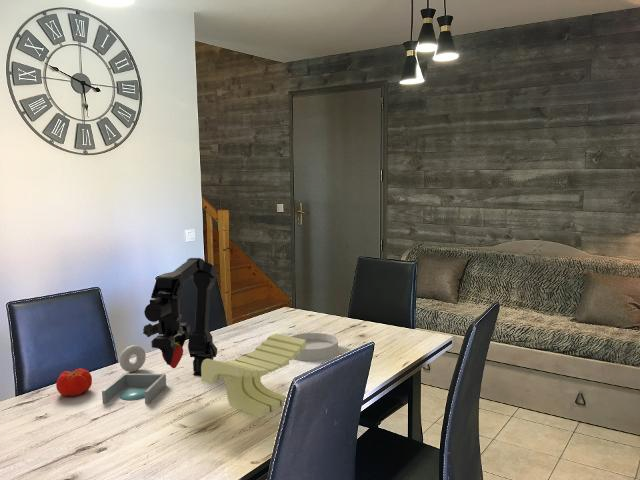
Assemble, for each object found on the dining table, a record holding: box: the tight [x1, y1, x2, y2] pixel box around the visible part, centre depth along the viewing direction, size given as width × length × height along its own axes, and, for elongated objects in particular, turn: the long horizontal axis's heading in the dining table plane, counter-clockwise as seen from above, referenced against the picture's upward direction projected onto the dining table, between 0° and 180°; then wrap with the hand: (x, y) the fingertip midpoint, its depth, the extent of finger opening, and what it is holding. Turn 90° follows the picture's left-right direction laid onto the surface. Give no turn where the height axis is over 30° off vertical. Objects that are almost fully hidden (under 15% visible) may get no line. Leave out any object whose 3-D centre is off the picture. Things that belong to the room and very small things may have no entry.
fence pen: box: [101, 373, 167, 405], centre depth 171 cm, size 15×15×4 cm
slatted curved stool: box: [200, 333, 306, 418], centre depth 161 cm, size 30×16×18 cm, turn 143°
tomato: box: [55, 368, 93, 397], centre depth 172 cm, size 11×11×8 cm
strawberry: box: [161, 342, 184, 369], centre depth 167 cm, size 6×8×10 cm
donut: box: [119, 344, 147, 373], centre depth 191 cm, size 10×4×10 cm, turn 138°
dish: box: [290, 332, 340, 362], centre depth 209 cm, size 22×22×5 cm
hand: (173, 360), depth 167 cm, fingers closed on strawberry, 7 cm apart
